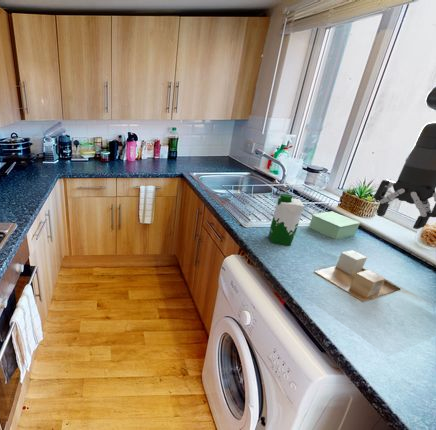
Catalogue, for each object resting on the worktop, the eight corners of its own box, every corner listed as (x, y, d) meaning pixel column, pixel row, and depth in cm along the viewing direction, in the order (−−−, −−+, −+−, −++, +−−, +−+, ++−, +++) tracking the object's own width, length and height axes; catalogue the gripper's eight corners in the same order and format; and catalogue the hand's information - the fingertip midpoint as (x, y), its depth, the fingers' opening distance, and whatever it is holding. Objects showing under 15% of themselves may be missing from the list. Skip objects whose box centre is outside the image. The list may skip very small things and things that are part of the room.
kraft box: (360, 284, 94) (368, 269, 91) (377, 294, 89) (385, 278, 87) (349, 288, 92) (356, 272, 89) (366, 298, 88) (373, 282, 85)
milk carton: (266, 234, 125) (278, 191, 117) (289, 237, 123) (303, 194, 115) (269, 243, 118) (282, 198, 110) (293, 247, 115) (308, 201, 107)
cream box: (346, 263, 105) (352, 249, 102) (360, 271, 100) (367, 257, 98) (335, 266, 103) (341, 252, 100) (350, 274, 99) (356, 260, 96)
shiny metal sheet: (348, 263, 106) (349, 262, 106) (400, 289, 92) (400, 288, 92) (313, 272, 100) (314, 271, 100) (363, 302, 87) (363, 301, 87)
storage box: (325, 226, 133) (331, 211, 130) (354, 239, 123) (361, 222, 119) (306, 230, 129) (311, 214, 126) (333, 244, 119) (340, 226, 115)
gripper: (471, 171, 69) (438, 231, 75) (401, 158, 81) (377, 210, 88) (454, 174, 66) (421, 235, 73) (384, 159, 78) (361, 213, 85)
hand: (397, 221), depth 80 cm, fingers open, 8 cm apart
